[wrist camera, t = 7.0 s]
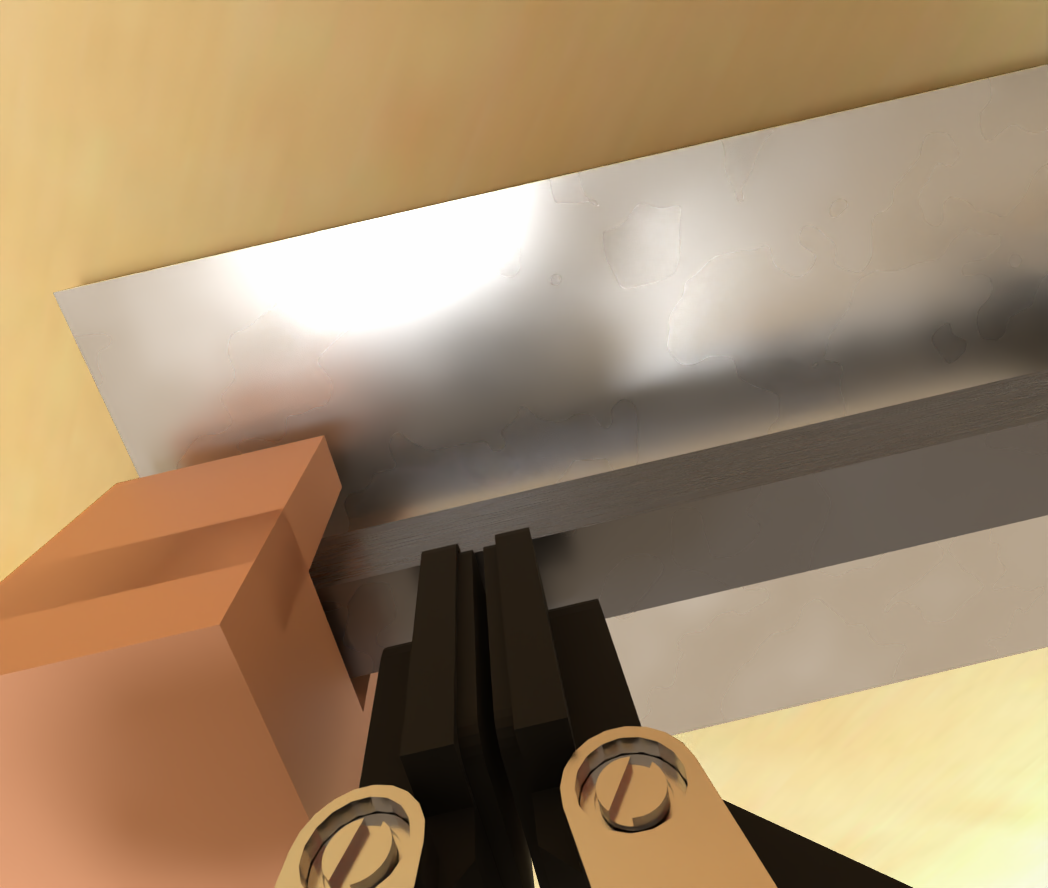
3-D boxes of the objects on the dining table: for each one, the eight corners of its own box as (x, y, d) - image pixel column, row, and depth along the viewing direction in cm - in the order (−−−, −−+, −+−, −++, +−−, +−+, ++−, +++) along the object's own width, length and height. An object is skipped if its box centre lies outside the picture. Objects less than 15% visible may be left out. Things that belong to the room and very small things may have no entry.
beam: (1296, 266, 14) (1586, 293, 11) (1280, 346, 15) (1547, 398, 11) (164, 529, 14) (59, 649, 11) (196, 599, 15) (108, 734, 11)
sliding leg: (332, 420, 13) (219, 624, 7) (400, 623, 15) (359, 926, 9) (136, 466, 13) (-150, 711, 7) (228, 663, 15) (66, 996, 9)
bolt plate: (1292, 7, 14) (1357, -7, 13) (1186, 584, 19) (1227, 606, 18) (81, 285, 13) (51, 293, 12) (309, 790, 18) (300, 824, 17)
